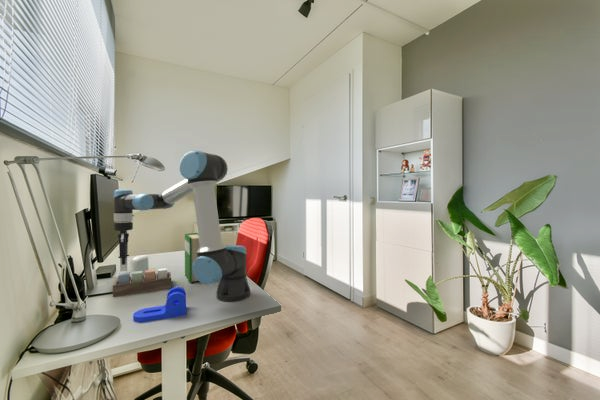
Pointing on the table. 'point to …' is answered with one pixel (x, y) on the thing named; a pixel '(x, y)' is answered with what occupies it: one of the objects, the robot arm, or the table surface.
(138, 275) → the light green cube
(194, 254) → the hardback book
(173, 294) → the bracket
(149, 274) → the peach cube
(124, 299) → the table surface
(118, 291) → the wooden compartment tray
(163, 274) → the white cube
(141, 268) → the photo printer
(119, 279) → the light blue cube
